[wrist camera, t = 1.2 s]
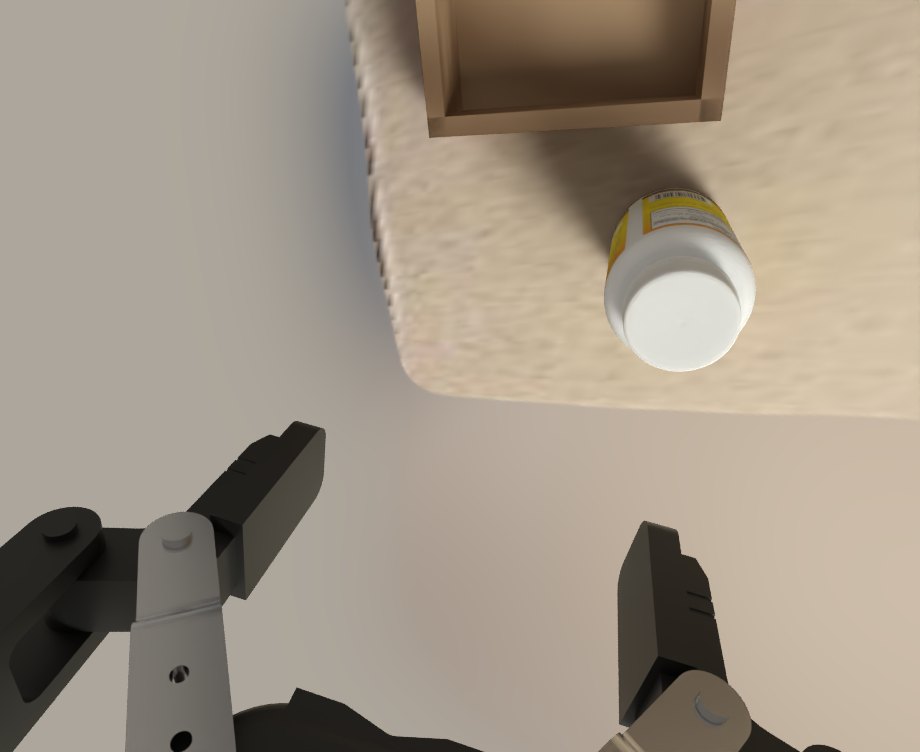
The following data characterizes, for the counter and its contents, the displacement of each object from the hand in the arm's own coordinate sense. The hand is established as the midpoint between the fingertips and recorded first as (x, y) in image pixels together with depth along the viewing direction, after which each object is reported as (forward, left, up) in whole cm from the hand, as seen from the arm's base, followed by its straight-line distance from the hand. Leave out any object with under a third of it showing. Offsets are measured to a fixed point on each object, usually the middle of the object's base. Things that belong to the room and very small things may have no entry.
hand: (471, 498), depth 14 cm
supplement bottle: (-4, +3, -20) cm, 21 cm away
